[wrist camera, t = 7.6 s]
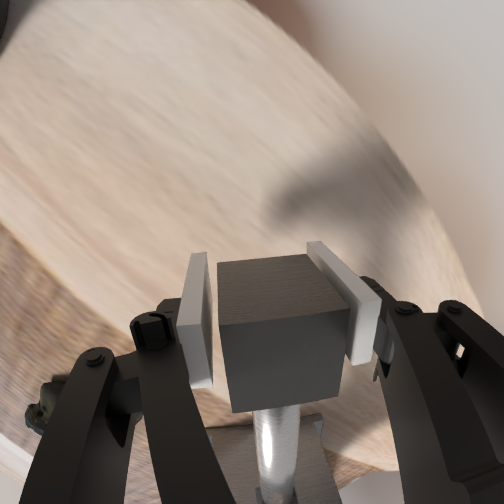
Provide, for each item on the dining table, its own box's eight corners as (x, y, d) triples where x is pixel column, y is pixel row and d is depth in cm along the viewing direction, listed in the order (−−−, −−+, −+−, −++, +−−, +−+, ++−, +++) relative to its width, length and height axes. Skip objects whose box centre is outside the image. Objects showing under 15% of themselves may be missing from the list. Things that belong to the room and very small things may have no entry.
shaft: (217, 262, 13) (218, 325, 8) (306, 253, 13) (350, 307, 9) (253, 504, 22) (259, 543, 17) (292, 499, 22) (301, 536, 18)
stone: (159, 422, 25) (154, 464, 20) (54, 418, 24) (41, 452, 19) (136, 374, 23) (125, 419, 18) (25, 374, 22) (5, 408, 17)
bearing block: (201, 428, 26) (204, 549, 13) (320, 413, 27) (363, 523, 14) (213, 465, 28) (220, 563, 16) (314, 451, 29) (344, 543, 17)
